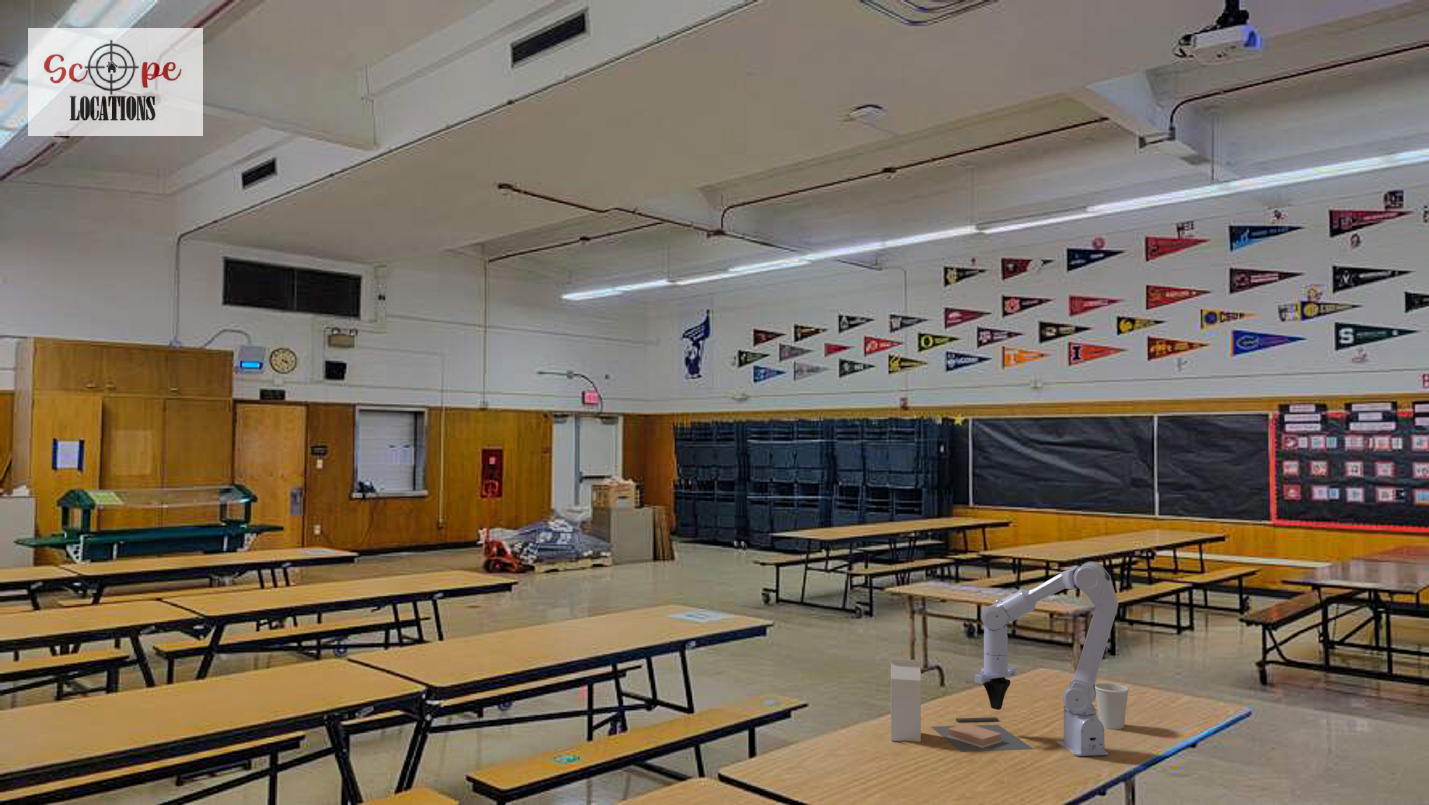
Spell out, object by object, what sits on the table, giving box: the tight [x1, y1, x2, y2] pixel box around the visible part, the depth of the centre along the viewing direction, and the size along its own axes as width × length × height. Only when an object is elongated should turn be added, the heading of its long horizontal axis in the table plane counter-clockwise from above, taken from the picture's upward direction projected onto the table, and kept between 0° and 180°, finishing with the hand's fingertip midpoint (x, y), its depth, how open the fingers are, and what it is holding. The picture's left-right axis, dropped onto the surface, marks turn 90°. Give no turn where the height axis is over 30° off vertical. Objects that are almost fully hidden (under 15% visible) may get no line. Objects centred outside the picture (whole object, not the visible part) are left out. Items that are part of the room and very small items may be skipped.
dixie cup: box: [1095, 682, 1130, 730], centre depth 233 cm, size 8×8×10 cm
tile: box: [948, 722, 1001, 748], centre depth 219 cm, size 2×10×8 cm
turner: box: [955, 716, 999, 723], centre depth 233 cm, size 19×7×1 cm, turn 98°
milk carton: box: [890, 658, 922, 742], centre depth 221 cm, size 7×7×19 cm
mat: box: [931, 724, 1034, 753], centre depth 220 cm, size 19×18×1 cm
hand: (996, 708), depth 224 cm, fingers closed
